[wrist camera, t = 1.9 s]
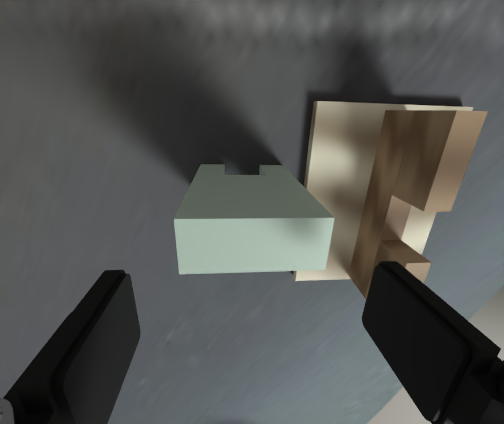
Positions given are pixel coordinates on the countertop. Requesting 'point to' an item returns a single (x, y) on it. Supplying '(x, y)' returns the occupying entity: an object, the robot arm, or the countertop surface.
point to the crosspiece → (250, 223)
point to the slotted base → (351, 177)
